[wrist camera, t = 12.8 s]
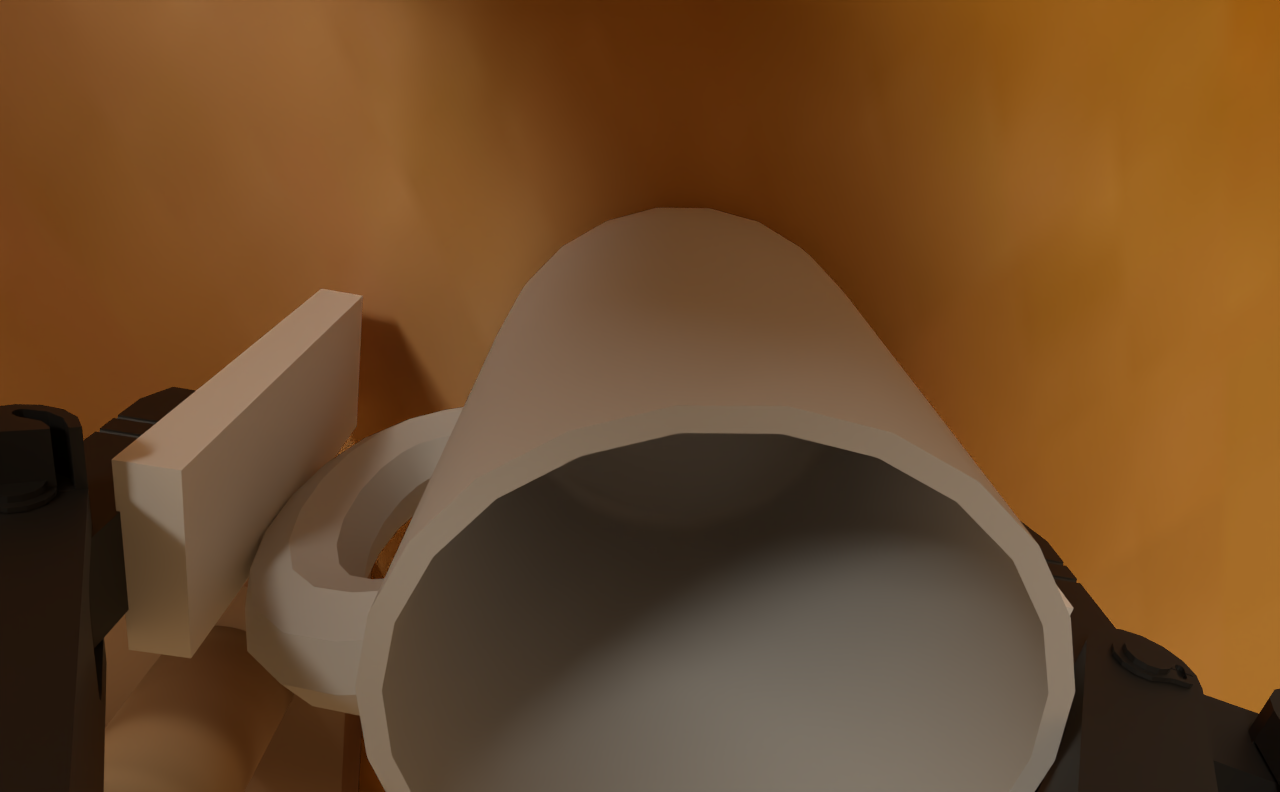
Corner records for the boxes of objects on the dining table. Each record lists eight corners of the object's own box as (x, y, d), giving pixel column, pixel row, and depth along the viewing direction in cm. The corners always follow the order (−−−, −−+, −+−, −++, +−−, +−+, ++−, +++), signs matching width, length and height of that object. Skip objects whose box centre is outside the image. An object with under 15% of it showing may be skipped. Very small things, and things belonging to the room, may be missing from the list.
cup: (860, 514, 18) (1047, 925, 10) (408, 562, 18) (223, 991, 10) (854, 175, 15) (1114, 355, 7) (315, 243, 15) (-49, 487, 7)
